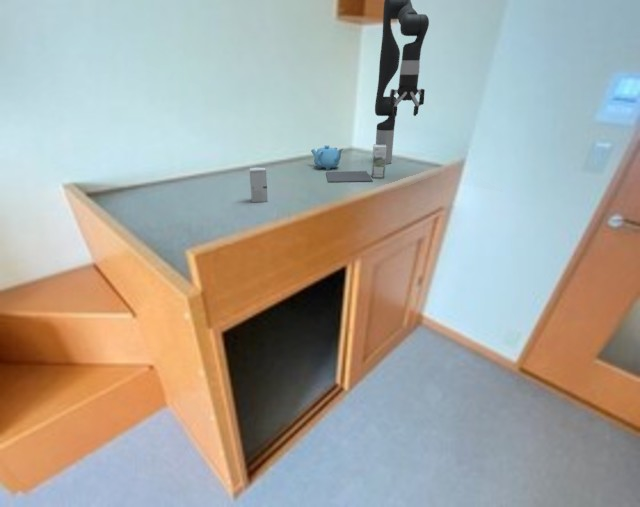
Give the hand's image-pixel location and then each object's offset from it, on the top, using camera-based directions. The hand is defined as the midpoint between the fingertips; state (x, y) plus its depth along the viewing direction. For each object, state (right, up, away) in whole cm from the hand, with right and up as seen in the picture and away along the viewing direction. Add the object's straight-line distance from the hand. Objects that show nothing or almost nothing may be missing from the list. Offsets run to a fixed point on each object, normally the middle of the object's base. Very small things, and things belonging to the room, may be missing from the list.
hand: (404, 115), depth 150 cm
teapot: (-33, -14, +33) cm, 48 cm away
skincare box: (-60, -39, -16) cm, 73 cm away
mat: (-23, -23, +15) cm, 36 cm away
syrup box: (-9, -23, +15) cm, 29 cm away
